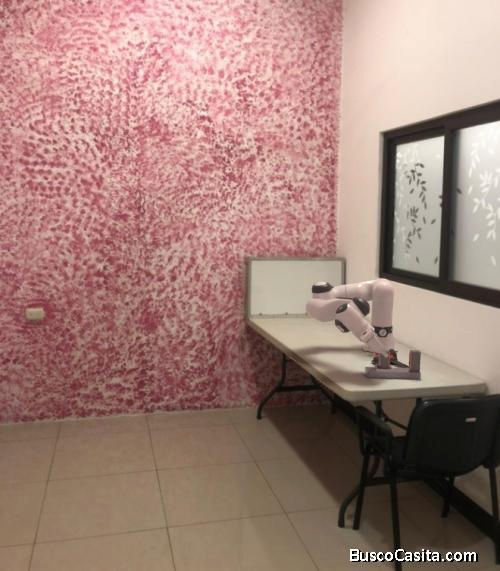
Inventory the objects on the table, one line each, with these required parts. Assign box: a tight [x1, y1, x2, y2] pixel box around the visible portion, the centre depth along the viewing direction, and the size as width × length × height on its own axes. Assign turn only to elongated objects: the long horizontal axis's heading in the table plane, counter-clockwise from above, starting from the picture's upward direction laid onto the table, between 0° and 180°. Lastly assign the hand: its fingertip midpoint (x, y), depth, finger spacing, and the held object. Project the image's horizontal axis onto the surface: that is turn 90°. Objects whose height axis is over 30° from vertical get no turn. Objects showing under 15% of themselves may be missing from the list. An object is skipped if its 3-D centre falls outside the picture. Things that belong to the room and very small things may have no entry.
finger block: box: [378, 349, 391, 369], centre depth 277 cm, size 4×4×9 cm
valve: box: [371, 349, 409, 368], centre depth 298 cm, size 6×26×15 cm
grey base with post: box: [364, 349, 422, 380], centre depth 276 cm, size 8×24×12 cm, turn 86°
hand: (385, 353), depth 276 cm, fingers open, 8 cm apart
